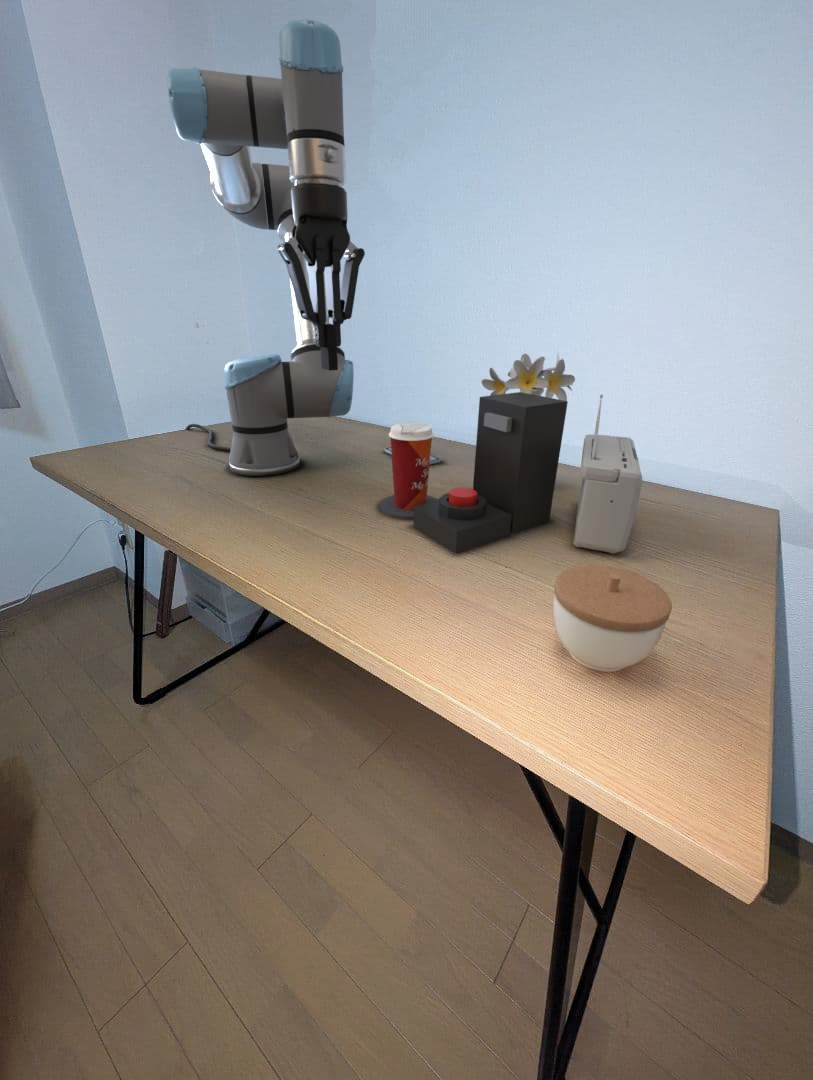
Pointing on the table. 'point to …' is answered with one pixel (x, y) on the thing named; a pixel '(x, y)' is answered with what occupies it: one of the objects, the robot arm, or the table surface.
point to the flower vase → (532, 378)
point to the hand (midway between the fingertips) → (329, 369)
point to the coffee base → (461, 523)
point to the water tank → (519, 455)
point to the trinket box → (608, 615)
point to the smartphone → (432, 458)
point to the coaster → (393, 511)
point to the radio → (607, 492)
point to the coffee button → (463, 497)
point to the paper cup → (410, 463)
